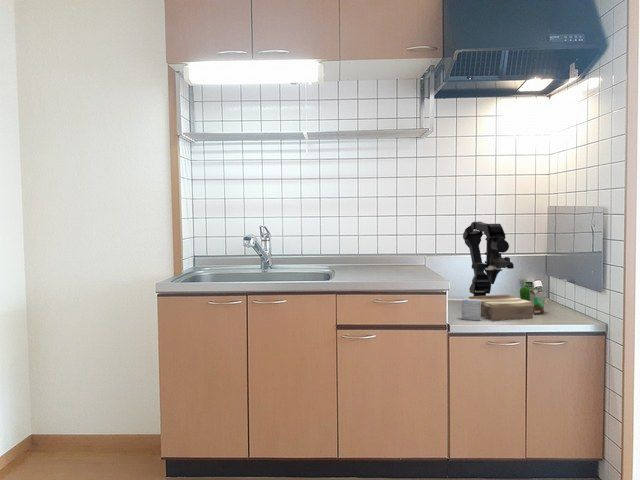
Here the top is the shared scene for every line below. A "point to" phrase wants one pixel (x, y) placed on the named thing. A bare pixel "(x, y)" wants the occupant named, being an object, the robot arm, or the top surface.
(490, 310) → the floor platform
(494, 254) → the robot arm
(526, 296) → the bell pepper
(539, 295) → the food container
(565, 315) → the top surface
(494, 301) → the pale plank
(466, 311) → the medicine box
